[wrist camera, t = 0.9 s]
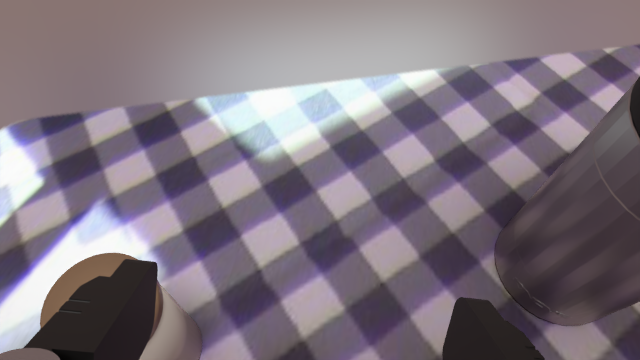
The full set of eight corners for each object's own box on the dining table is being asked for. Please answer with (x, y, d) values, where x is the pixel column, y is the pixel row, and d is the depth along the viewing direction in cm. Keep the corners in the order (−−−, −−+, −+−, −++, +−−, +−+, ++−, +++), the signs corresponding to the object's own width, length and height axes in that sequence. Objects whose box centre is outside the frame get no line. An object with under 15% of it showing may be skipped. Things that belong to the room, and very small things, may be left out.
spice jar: (170, 294, 33) (113, 233, 23) (219, 344, 31) (179, 300, 21) (109, 352, 31) (18, 310, 21) (158, 409, 29) (82, 392, 19)
